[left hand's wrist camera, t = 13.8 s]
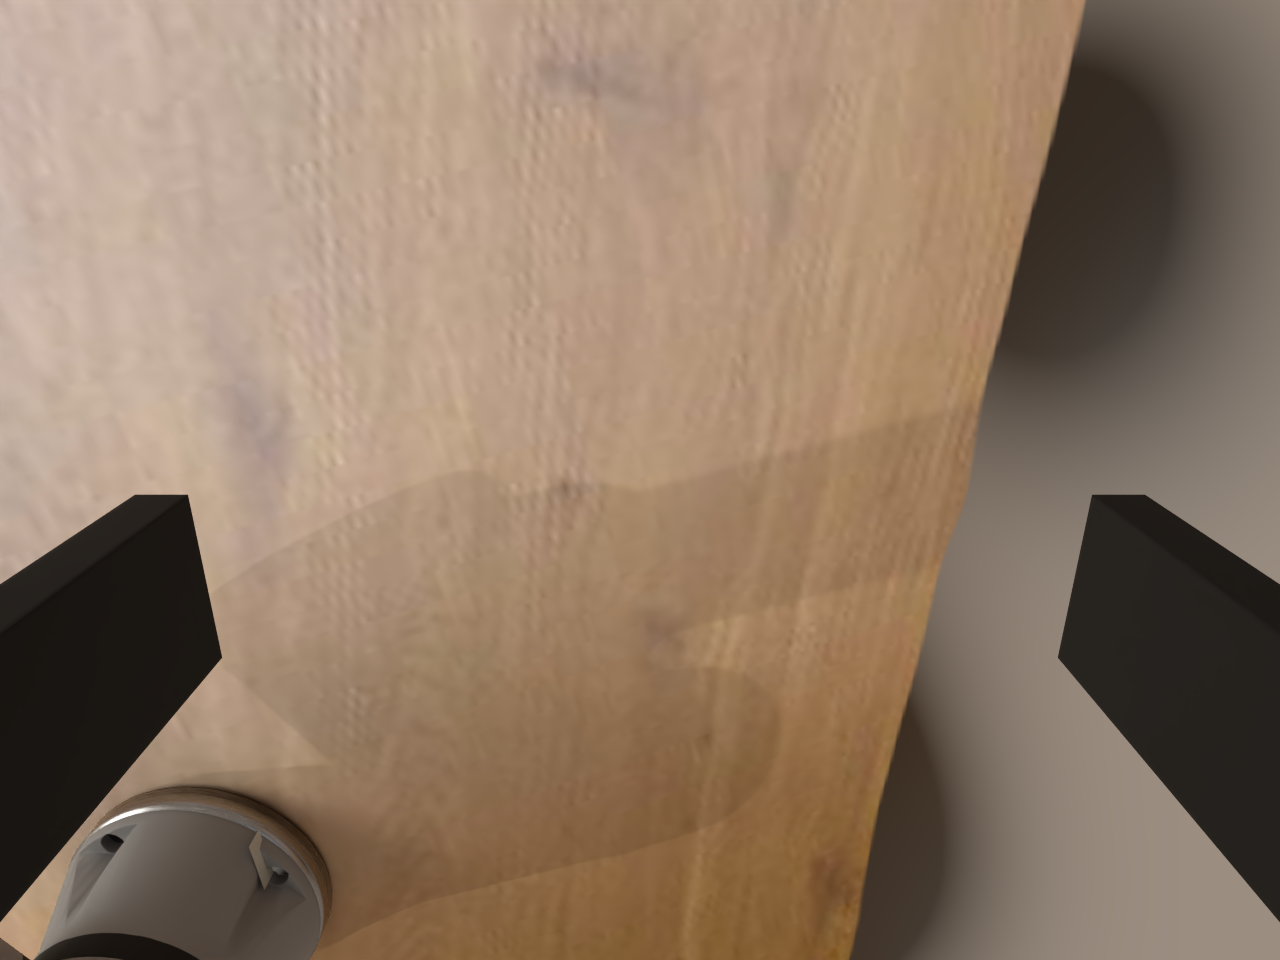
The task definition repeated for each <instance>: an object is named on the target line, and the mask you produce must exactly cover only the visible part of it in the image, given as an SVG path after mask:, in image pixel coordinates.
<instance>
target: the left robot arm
mask: <svg viewBox="0 0 1280 960" xmlns="http://www.w3.org/2000/svg"><path fill="white" fill-rule="evenodd" d="M221 658H222V655H221V650H220V645H219V641H218V636H217V631H216V626H215V622H214V617H213V612H212V607H211V603H210V598H209V593H208V588H207V584H206V579H205V574H204V569H203V564H202V560H201V555H200V550H199V545H198V541H197V536H196V531H195V526H194V522H193V517H192V512H191V507H190V503H189V498H188V495H134V496H133V497H131V498H130V499H128V500H127V501H125V502H124V503H122V504H120V505H119V506H117V507H116V508H114V509H113V510H111V511H110V512H108V513H107V514H105V515H104V516H102V517H101V518H99V519H98V520H96V521H95V522H93V523H92V524H90V525H89V526H87V527H86V528H84V529H83V530H81V531H80V532H78V533H77V534H75V535H74V536H72V537H71V538H69V539H68V540H66V541H65V542H63V543H62V544H60V545H59V546H57V547H56V548H54V549H53V550H51V551H50V552H48V553H47V554H45V555H44V556H42V557H41V558H39V559H38V560H36V561H35V562H33V563H32V564H30V565H29V566H27V567H26V568H24V569H23V570H21V571H20V572H18V573H17V574H15V575H14V576H12V577H11V578H9V579H8V580H6V581H5V582H3V583H2V584H0V922H1V920H2V919H3V918H4V917H5V916H6V915H7V913H8V912H9V911H10V910H11V909H12V907H13V906H14V905H15V904H16V903H17V901H18V900H19V899H20V898H21V897H22V895H23V894H24V893H25V892H26V891H27V889H28V888H29V887H30V886H31V885H32V884H33V882H34V881H35V880H36V879H37V878H38V876H39V875H40V874H41V873H42V872H43V870H44V869H45V868H46V867H47V866H48V864H49V863H50V862H51V861H52V860H53V859H54V857H55V856H56V855H57V854H58V853H59V851H60V850H61V849H62V848H63V847H64V845H65V844H66V843H67V842H68V841H69V839H70V838H71V837H72V836H73V835H74V833H75V832H76V831H77V830H78V829H79V828H80V826H81V825H82V824H83V823H84V822H85V820H86V819H87V818H88V817H89V816H90V814H91V813H92V812H93V811H94V810H95V808H96V807H97V806H98V805H99V804H100V802H101V801H102V800H103V799H104V798H105V797H106V795H107V794H108V793H109V792H110V791H111V789H112V788H113V787H114V786H115V785H116V783H117V782H118V781H119V780H120V779H121V777H122V776H123V775H124V774H125V773H126V771H127V770H128V769H129V768H130V767H131V766H132V764H133V763H134V762H135V761H136V760H137V758H138V757H139V756H140V755H141V754H142V752H143V751H144V750H145V749H146V748H147V746H148V745H149V744H150V743H151V742H152V740H153V739H154V738H155V737H156V736H157V735H158V733H159V732H160V731H161V730H162V729H163V727H164V726H165V725H166V724H167V723H168V721H169V720H170V719H171V718H172V717H173V715H174V714H175V713H176V712H177V711H178V709H179V708H180V707H181V706H182V705H183V704H184V702H185V701H186V700H187V699H188V698H189V696H190V695H191V694H192V693H193V692H194V690H195V689H196V688H197V687H198V686H199V684H200V683H201V682H202V681H203V680H204V678H205V677H206V676H207V675H208V674H209V673H210V671H211V670H212V669H213V668H214V667H215V665H216V664H217V663H218V662H219V661H220V659H221ZM1058 658H1059V659H1060V661H1061V662H1062V663H1063V664H1064V665H1065V667H1066V668H1067V669H1068V670H1069V671H1070V673H1071V674H1072V675H1073V676H1074V677H1075V678H1076V680H1077V681H1078V682H1079V683H1080V684H1081V686H1082V687H1083V688H1084V689H1085V690H1086V692H1087V693H1088V694H1089V695H1090V696H1091V698H1092V699H1093V700H1094V701H1095V702H1096V703H1097V705H1098V706H1099V707H1100V708H1101V709H1102V711H1103V712H1104V713H1105V714H1106V715H1107V717H1108V718H1109V719H1110V720H1111V721H1112V723H1113V724H1114V725H1115V726H1116V727H1117V729H1118V730H1119V731H1120V732H1121V733H1122V735H1123V736H1124V737H1125V738H1126V739H1127V740H1128V742H1129V743H1130V744H1131V745H1132V746H1133V748H1134V749H1135V750H1136V751H1137V752H1138V754H1139V755H1140V756H1141V757H1142V758H1143V760H1144V761H1145V762H1146V763H1147V764H1148V766H1149V767H1150V768H1151V769H1152V770H1153V771H1154V773H1155V774H1156V775H1157V776H1158V777H1159V779H1160V780H1161V781H1162V782H1163V783H1164V785H1165V786H1166V787H1167V788H1168V789H1169V791H1170V792H1171V793H1172V794H1173V795H1174V797H1175V798H1176V799H1177V800H1178V801H1179V802H1180V804H1181V805H1182V806H1183V807H1184V808H1185V810H1186V811H1187V812H1188V813H1189V814H1190V815H1191V817H1192V818H1193V819H1194V820H1195V822H1196V823H1197V824H1198V825H1199V826H1200V828H1201V829H1202V830H1203V831H1204V832H1205V833H1206V835H1207V836H1208V837H1209V838H1210V839H1211V841H1212V842H1213V843H1214V844H1215V845H1216V847H1217V848H1218V849H1219V850H1220V851H1221V853H1222V854H1223V855H1224V856H1225V857H1226V859H1227V860H1228V861H1229V862H1230V863H1231V864H1232V866H1233V867H1234V868H1235V869H1236V870H1237V872H1238V873H1239V874H1240V875H1241V876H1242V878H1243V879H1244V880H1245V881H1246V882H1247V884H1248V885H1249V886H1250V887H1251V888H1252V889H1253V891H1254V892H1255V893H1256V894H1257V895H1258V897H1259V898H1260V899H1261V900H1262V901H1263V903H1264V904H1265V905H1266V906H1267V907H1268V909H1269V910H1270V911H1271V912H1272V913H1273V915H1274V916H1275V917H1276V918H1277V919H1278V920H1279V922H1280V584H1278V583H1277V582H1275V581H1274V580H1272V579H1271V578H1269V577H1268V576H1266V575H1265V574H1263V573H1262V572H1260V571H1259V570H1257V569H1256V568H1254V567H1253V566H1251V565H1250V564H1248V563H1247V562H1245V561H1244V560H1242V559H1241V558H1239V557H1238V556H1236V555H1235V554H1233V553H1232V552H1230V551H1229V550H1227V549H1226V548H1224V547H1223V546H1221V545H1220V544H1218V543H1217V542H1215V541H1214V540H1212V539H1211V538H1209V537H1208V536H1206V535H1205V534H1203V533H1202V532H1200V531H1199V530H1197V529H1196V528H1194V527H1193V526H1191V525H1190V524H1188V523H1187V522H1185V521H1184V520H1182V519H1181V518H1179V517H1178V516H1176V515H1175V514H1173V513H1172V512H1170V511H1169V510H1167V509H1165V508H1164V507H1162V506H1161V505H1159V504H1158V503H1156V502H1155V501H1153V500H1152V499H1150V498H1149V497H1147V496H1146V495H1092V498H1091V503H1090V507H1089V512H1088V517H1087V522H1086V526H1085V531H1084V536H1083V541H1082V545H1081V550H1080V555H1079V560H1078V565H1077V569H1076V574H1075V579H1074V584H1073V588H1072V593H1071V598H1070V603H1069V607H1068V612H1067V617H1066V622H1065V626H1064V631H1063V636H1062V641H1061V645H1060V650H1059V655H1058ZM331 904H332V888H331V882H330V878H329V874H328V871H327V869H326V866H325V864H324V862H323V860H322V858H321V857H320V855H319V853H318V852H317V850H316V849H315V847H314V846H313V845H312V843H311V842H310V841H309V840H308V839H307V838H306V836H304V835H303V834H302V833H301V832H300V831H299V830H298V829H297V828H296V827H295V826H294V825H293V824H291V823H290V822H289V821H288V820H286V819H285V818H283V817H282V816H280V815H279V814H277V813H276V812H274V811H272V810H271V809H269V808H267V807H265V806H263V805H261V804H259V803H257V802H254V801H252V800H249V799H247V798H244V797H241V796H238V795H235V794H232V793H228V792H224V791H219V790H213V789H207V788H196V787H176V788H166V789H159V790H154V791H150V792H146V793H143V794H140V795H137V796H135V797H133V798H130V799H128V800H126V801H124V802H123V803H121V804H119V805H118V806H116V807H115V808H113V809H112V810H111V811H110V812H108V813H107V814H106V815H105V816H104V817H103V818H102V819H101V820H100V822H99V823H98V824H97V825H96V827H95V828H94V829H93V830H92V831H91V833H90V834H89V835H88V836H87V838H86V839H85V840H84V841H83V843H82V844H81V845H80V846H79V848H78V849H77V851H76V852H75V854H74V856H73V858H72V860H71V863H70V865H69V869H68V872H67V875H66V877H65V880H64V883H63V886H62V889H61V891H60V894H59V897H58V900H57V903H56V906H55V908H54V911H53V914H52V917H51V920H50V922H49V925H48V928H47V931H46V934H45V936H44V939H43V942H42V945H41V948H40V950H39V953H38V954H37V956H36V957H35V958H34V960H309V959H310V958H311V956H312V954H313V953H314V951H315V949H316V947H317V944H318V942H319V940H320V937H321V935H322V932H323V930H324V927H325V925H326V922H327V920H328V917H329V914H330V910H331ZM0 960H30V959H28V958H27V957H25V956H24V955H23V954H22V953H20V952H19V951H17V950H16V949H15V948H13V947H12V946H11V945H9V944H8V943H7V942H5V941H4V940H2V939H1V938H0Z"/></svg>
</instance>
